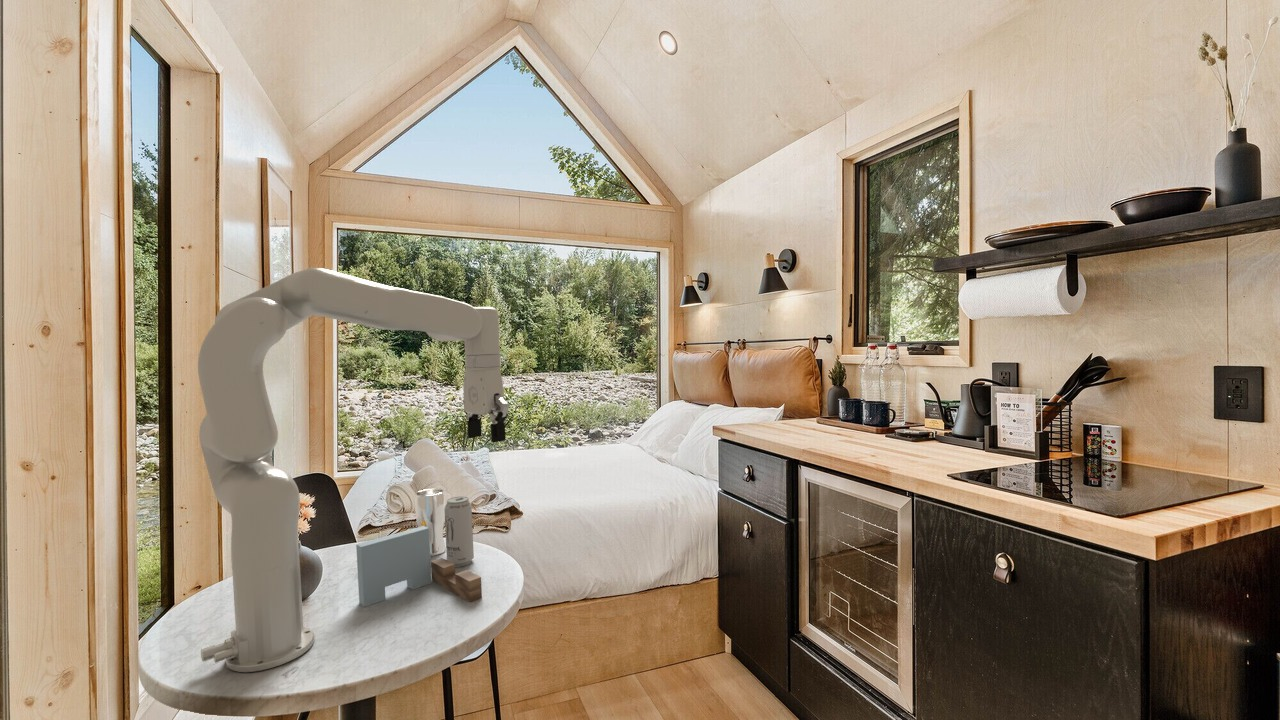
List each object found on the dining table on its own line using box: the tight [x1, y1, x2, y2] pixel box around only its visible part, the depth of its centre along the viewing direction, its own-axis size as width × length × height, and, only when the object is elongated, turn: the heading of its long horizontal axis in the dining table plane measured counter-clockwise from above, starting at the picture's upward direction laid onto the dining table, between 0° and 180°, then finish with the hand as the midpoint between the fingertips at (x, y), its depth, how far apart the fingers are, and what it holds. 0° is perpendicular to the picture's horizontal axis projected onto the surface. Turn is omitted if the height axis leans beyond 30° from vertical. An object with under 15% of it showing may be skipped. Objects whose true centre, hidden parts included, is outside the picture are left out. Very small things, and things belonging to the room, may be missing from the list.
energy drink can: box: [444, 496, 475, 568], centre depth 134 cm, size 6×6×15 cm
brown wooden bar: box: [430, 557, 483, 603], centre depth 120 cm, size 16×3×4 cm, turn 47°
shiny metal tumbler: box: [414, 488, 446, 557], centre depth 141 cm, size 7×7×15 cm
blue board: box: [355, 526, 432, 608], centre depth 119 cm, size 14×2×12 cm, turn 137°
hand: (486, 439), depth 128 cm, fingers open, 9 cm apart
